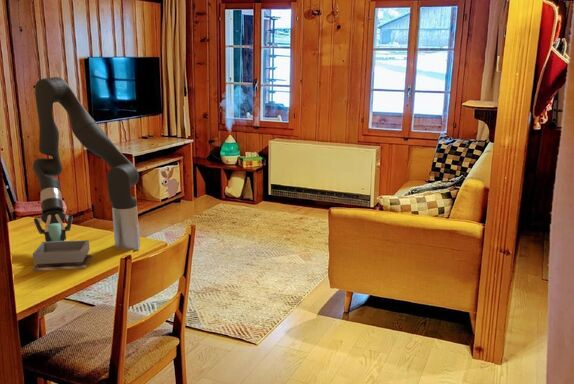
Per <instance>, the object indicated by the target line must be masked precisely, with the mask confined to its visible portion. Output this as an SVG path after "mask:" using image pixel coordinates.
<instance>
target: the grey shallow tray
mask: <svg viewBox="0 0 574 384" xmlns="http://www.w3.org/2000/svg"><path fill="white" fill-rule="evenodd" d="M90 250H91V249H90V240H89V239H87V240H86V239H85V240H84V239H83V240H82V239H81V240H64V241H55V242H46V241H42V242H41V243H40V245H39V246H38V247H36V249H35V250H34V251H33V253H32V261H33V265H37V264H38V268H43V267H45V266H46V264H48V263H70V262H75V263H74V266H81V265H82V262H83V260H84V259H85V257H86V256H87V254H89V251H90Z"/></svg>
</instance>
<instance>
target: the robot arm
mask: <svg viewBox="0 0 574 384" xmlns="http://www.w3.org/2000/svg"><path fill="white" fill-rule="evenodd" d="M34 94H35V103H36V110H37V118H38V119H37V120H38V127H39V136H38V137H39V138H38V152H39V153H40V154H42V155H44V156H45V155H46V156H50V157H51V158H49V157H48V158H47V157H46V158H42V157H41V158H40V157H38V158H36V159H35V160H34V161H33V163H32V169H33V172H34V175H35V177H36V179H37V181H38V184H39V189H40V191H39V192H40V206H41V207H40V208H41V216H40V217H39V218H37V217H34V218H33V222H34V225H35V227H36V229H37V231H38V233H39V234H40V235H44V238H45V239H44V242H50V239H49V232H48V225H49V224H52V223H60V224H61V234H62V241H67V235H66V232H69V231H71V227H72V224H73V220H74V219H73V218H74V217H73V214H72V213H71V214H69V215H68V214H65V212H64V205H63V197H62V193H61V186H60V185H61V184H60V180H59V179H58V178H57V176H59V175H61V174H62V172H63V165H62V160H61V157H60V152H59V145H60V144H59V143H60V131H59V129H58V127H57V125H56V124H57V123H56V122H55V120H54V117H53V104H54V103H59V104H60V106H62V108H63V109H64V110H65V111H66V113H67V115H68V118H69V121H70V126H71V128H70V129H71V131H72V133H73V135H74V136H75V138H76V139H77V140H78V142H79V143H80V144H81V145H82V146H83V147H84V148H85V149H86V150H87V151H89V152H90V153H92V154H94V155H96V156H97V157H99V158H100V159H102V160H103V161H104V162H105V163H107V164H108V166H109V167H110V169H109V170H108V172H107V174H106V184H107V191H108V192H107V193H108V198H109V201H110V203H111V209H112V210H111V211H112V222H113V223H112V226H113V237H114V248H116V249H117V250H122V251H123V250H125V251H127V250H133V252H134V251H139V250H140V247H141V235H140V233H141V232H140V222H139V217H138V214H139V213H138V201H137V198H136V197H134V196H132V193H131V187H133V186H135V185H137V184H138V183H139V181H140V180H139V179H140V174H139V171H138V169H137V168H136V166H135V165H134V164H133V163H132V162H131V161H130V160H129V159H128V158H127V157H126V156H125V155H124V154H123V153H122V152H121V151H120V150H119V149H118V148H117V146H116V145H115V144H114V143H113V141H112V140H111V139H110V138H109V137H108V135H107V133H105V132H104V130H103V129H102V128H101V126H100V125H99V124H98V122H96V120H95V119H94V118H93V117H92V116H91V115H90V113H89V112H88V111H87V109H86V108H85V107H84V106H83V104H82V102H80V100H79V99H78V97H77V96H76V94H75V92H74V91H73V89H72V88H71V86H70V84H68V83H67V82H66V80H65V79H63V78H61V77H59V76H58V77H57V76H53V77H47V78H40V79H38V80H37V82H36V83H35V87H34ZM65 219H66V221H67V222H66V223H67V224H66V225H65V226H64V224H63V222H64V220H65ZM42 223H44V224H45V228H42V226H41V224H42Z"/></svg>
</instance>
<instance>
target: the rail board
mask: <svg viewBox="0 0 574 384" xmlns="http://www.w3.org/2000/svg"><path fill="white" fill-rule="evenodd" d="M93 256H94V254H93V253H88V254H87V256H86V257H85V259H84V260H83V262H82V265H81V266H74V263H75V262H70V263H48V264H46V266H45V267H43V268H38V264H35V266H34V267H32V268H31V272H38V271H39V272H41V271H60V270H61V271H63V270H81V269H84V270H85V269H87V268H88V266H89V264H90V263H91V261H92V259H93Z"/></svg>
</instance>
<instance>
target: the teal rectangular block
mask: <svg viewBox="0 0 574 384" xmlns="http://www.w3.org/2000/svg"><path fill="white" fill-rule="evenodd" d="M48 232H49V239H50V242H55V241H62V234H61V224H60V223H52V224H49V225H48Z"/></svg>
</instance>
